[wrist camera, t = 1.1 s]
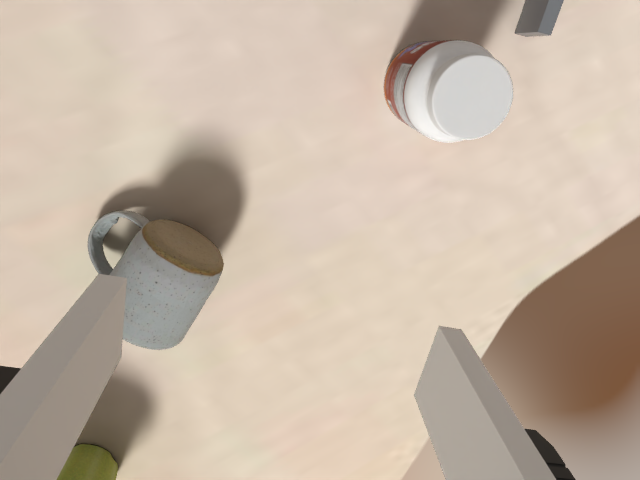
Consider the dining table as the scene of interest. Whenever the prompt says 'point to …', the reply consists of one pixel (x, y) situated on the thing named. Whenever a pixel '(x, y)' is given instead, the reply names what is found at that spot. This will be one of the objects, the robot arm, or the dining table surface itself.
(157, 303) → the ceramic mug
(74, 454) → the plant pot
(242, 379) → the dining table surface
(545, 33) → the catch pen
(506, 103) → the pill bottle
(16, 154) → the dining table surface
